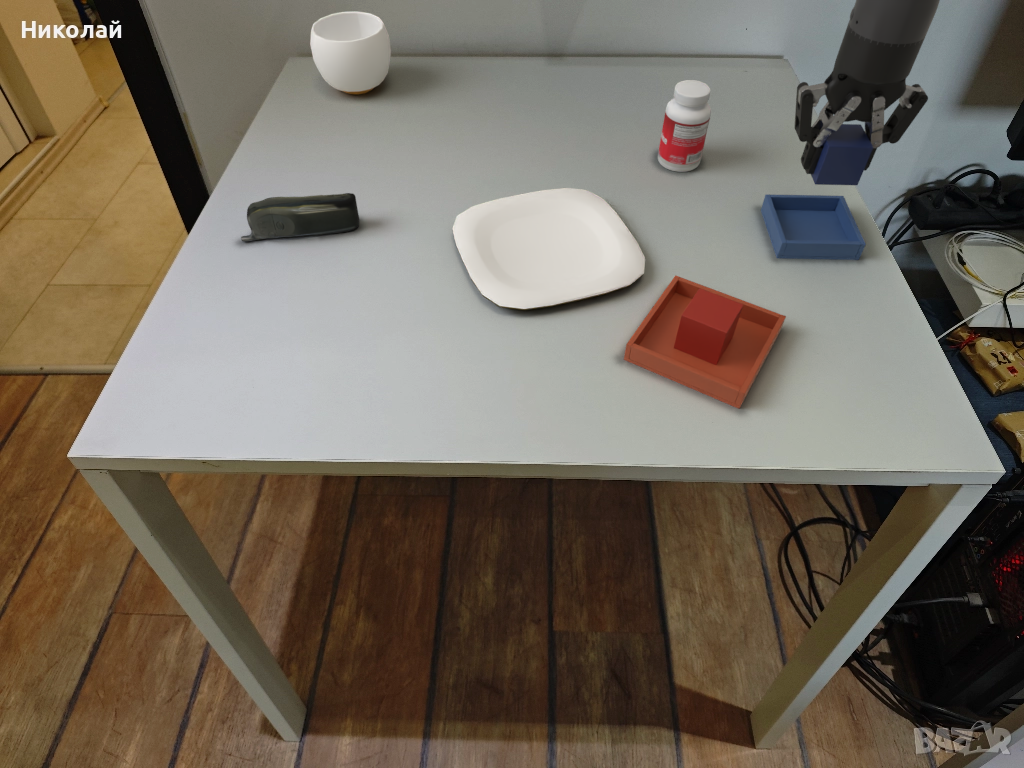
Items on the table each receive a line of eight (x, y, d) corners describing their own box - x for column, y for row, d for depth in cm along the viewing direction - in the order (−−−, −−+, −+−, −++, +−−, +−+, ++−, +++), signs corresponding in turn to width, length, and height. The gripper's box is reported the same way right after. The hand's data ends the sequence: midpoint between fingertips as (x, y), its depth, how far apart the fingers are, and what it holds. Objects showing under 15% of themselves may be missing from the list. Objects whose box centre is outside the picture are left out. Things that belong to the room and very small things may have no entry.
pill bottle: (661, 146, 107) (674, 74, 99) (703, 154, 106) (719, 81, 97) (653, 169, 103) (665, 95, 95) (696, 177, 102) (712, 102, 93)
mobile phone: (354, 187, 92) (232, 199, 90) (355, 201, 90) (231, 213, 88) (359, 219, 96) (242, 231, 93) (361, 233, 94) (241, 246, 91)
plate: (592, 189, 100) (593, 178, 99) (662, 288, 86) (664, 277, 85) (441, 219, 95) (440, 208, 94) (489, 329, 82) (489, 318, 81)
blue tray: (837, 211, 97) (843, 195, 95) (858, 260, 90) (866, 244, 88) (760, 210, 97) (765, 194, 95) (776, 258, 90) (782, 242, 88)
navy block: (845, 162, 88) (861, 124, 84) (857, 185, 85) (873, 147, 81) (804, 161, 88) (818, 123, 84) (814, 184, 85) (829, 146, 81)
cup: (309, 102, 116) (296, 41, 108) (332, 66, 124) (321, 7, 116) (384, 107, 114) (376, 46, 107) (402, 71, 122) (395, 11, 115)
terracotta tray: (779, 332, 82) (786, 316, 80) (739, 409, 74) (745, 393, 72) (671, 291, 86) (675, 275, 84) (623, 360, 79) (626, 344, 77)
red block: (732, 337, 80) (743, 304, 77) (716, 365, 78) (726, 332, 74) (690, 321, 82) (699, 288, 78) (673, 348, 79) (681, 315, 75)
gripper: (826, 40, 71) (778, 188, 84) (973, 42, 71) (902, 190, 84) (808, 8, 76) (765, 152, 89) (945, 10, 76) (882, 154, 89)
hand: (832, 170), depth 86 cm, fingers closed on navy block, 5 cm apart
